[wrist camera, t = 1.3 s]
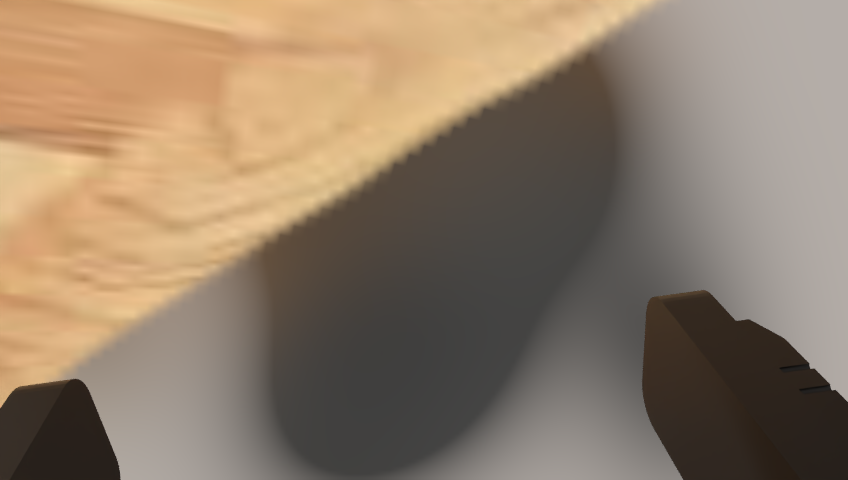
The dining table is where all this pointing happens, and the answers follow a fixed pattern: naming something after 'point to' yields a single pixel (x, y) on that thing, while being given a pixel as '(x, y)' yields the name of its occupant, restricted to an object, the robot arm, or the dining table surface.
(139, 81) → the dining table surface
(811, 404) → the robot arm
